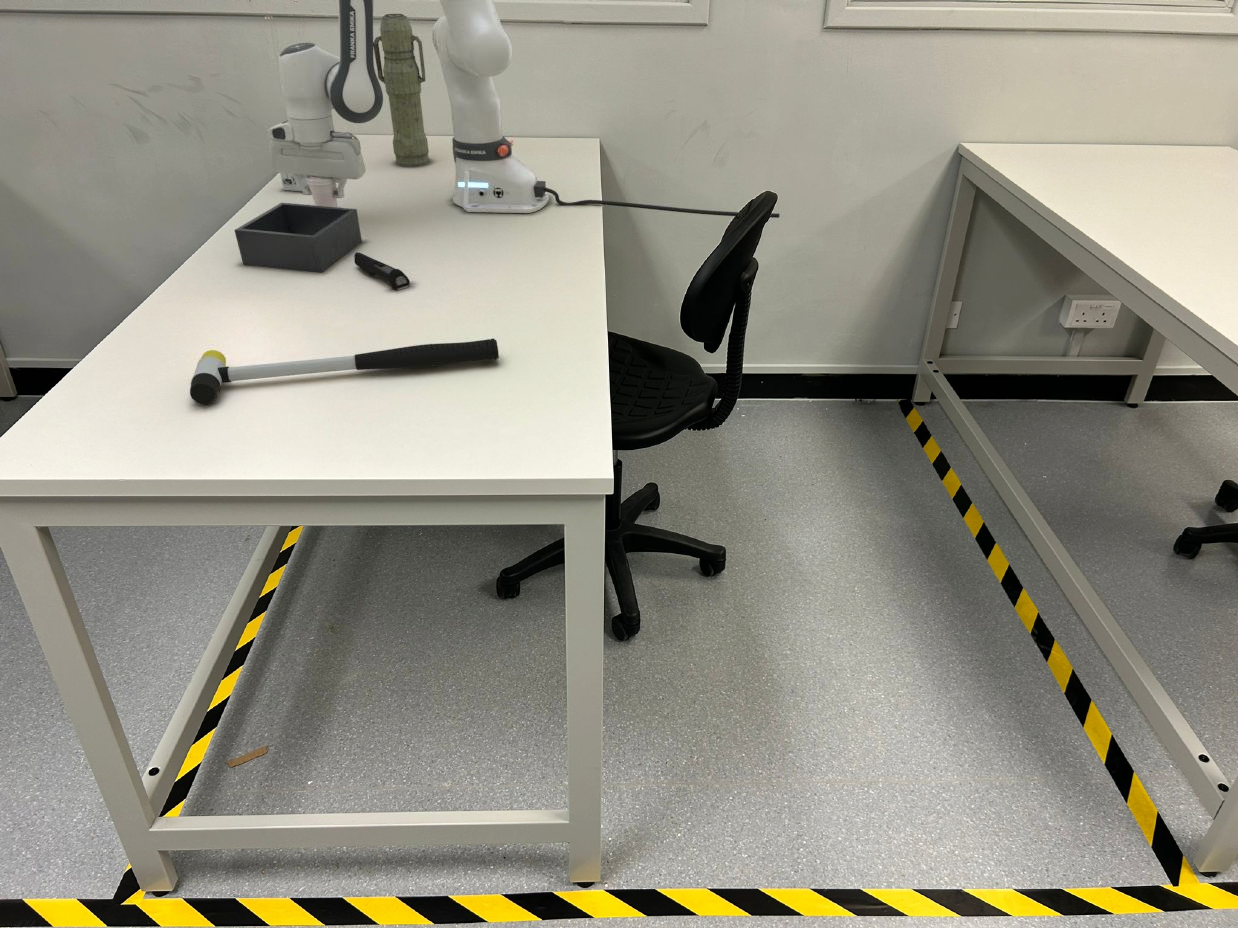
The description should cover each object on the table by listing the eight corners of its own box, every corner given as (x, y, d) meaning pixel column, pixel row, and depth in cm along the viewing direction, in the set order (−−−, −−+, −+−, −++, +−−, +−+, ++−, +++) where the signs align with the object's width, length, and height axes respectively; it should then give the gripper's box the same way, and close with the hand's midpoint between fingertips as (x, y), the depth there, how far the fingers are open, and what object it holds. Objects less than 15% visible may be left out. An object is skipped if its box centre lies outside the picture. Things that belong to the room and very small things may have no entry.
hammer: (192, 407, 124) (184, 383, 122) (203, 372, 133) (196, 349, 130) (502, 375, 133) (500, 353, 131) (494, 345, 141) (492, 323, 139)
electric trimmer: (368, 264, 170) (365, 248, 168) (412, 285, 161) (409, 269, 159) (351, 269, 168) (348, 253, 166) (394, 291, 159) (392, 275, 157)
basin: (362, 242, 179) (356, 209, 175) (322, 272, 166) (315, 237, 162) (288, 235, 182) (281, 202, 178) (242, 264, 169) (234, 230, 165)
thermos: (391, 158, 231) (370, 13, 211) (435, 157, 232) (419, 12, 212) (388, 167, 224) (366, 18, 204) (434, 166, 225) (417, 17, 205)
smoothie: (317, 216, 192) (305, 152, 184) (346, 215, 193) (335, 151, 185) (311, 226, 187) (298, 160, 179) (341, 225, 187) (329, 160, 179)
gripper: (365, 129, 180) (374, 195, 188) (276, 123, 183) (289, 188, 191) (350, 137, 175) (361, 204, 182) (260, 130, 178) (274, 196, 186)
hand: (323, 196), depth 187 cm, fingers closed on smoothie, 6 cm apart
